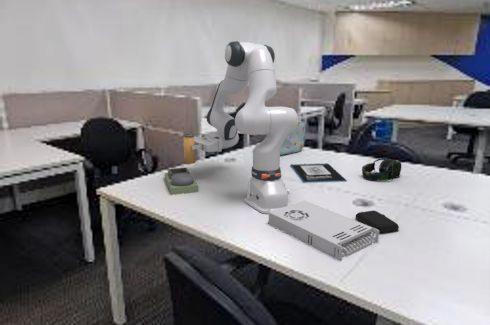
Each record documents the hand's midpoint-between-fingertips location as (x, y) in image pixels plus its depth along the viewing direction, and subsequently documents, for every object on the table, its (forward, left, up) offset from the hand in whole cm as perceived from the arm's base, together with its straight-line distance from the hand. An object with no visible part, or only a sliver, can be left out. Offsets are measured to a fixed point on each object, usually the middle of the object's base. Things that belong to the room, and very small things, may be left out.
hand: (187, 146), depth 180 cm
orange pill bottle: (0, -1, -8) cm, 8 cm away
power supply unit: (-70, -33, -18) cm, 79 cm away
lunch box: (+37, -68, -17) cm, 79 cm away
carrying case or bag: (-71, -56, -18) cm, 92 cm away
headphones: (-25, -93, -17) cm, 98 cm away
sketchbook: (-8, -65, -18) cm, 68 cm away
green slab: (-5, +5, -17) cm, 18 cm away
